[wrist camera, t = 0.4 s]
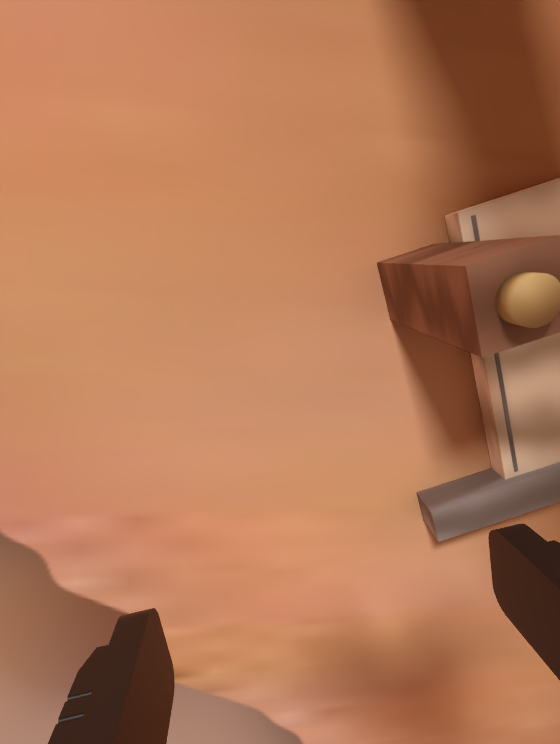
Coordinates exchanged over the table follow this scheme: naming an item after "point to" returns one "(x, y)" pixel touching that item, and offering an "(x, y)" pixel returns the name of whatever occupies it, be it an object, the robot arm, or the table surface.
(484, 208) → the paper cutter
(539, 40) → the table surface
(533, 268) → the brown pillar with knob
